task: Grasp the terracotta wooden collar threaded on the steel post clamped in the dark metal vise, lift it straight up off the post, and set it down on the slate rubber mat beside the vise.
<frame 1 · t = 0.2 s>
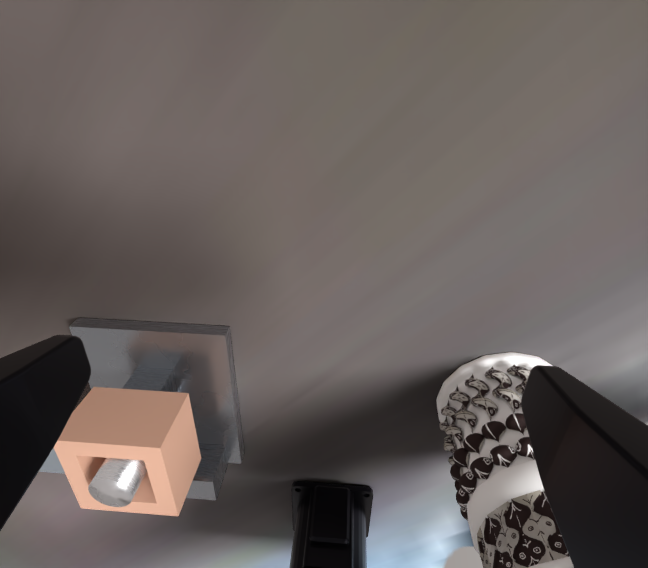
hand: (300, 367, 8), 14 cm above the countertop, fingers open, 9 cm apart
vise: (169, 391, 29), on the countertop
decorative candle: (498, 400, 27), on the countertop
collar: (150, 424, 26), point 3 cm above the countertop, touching vise
mat: (20, 427, 32), on the countertop
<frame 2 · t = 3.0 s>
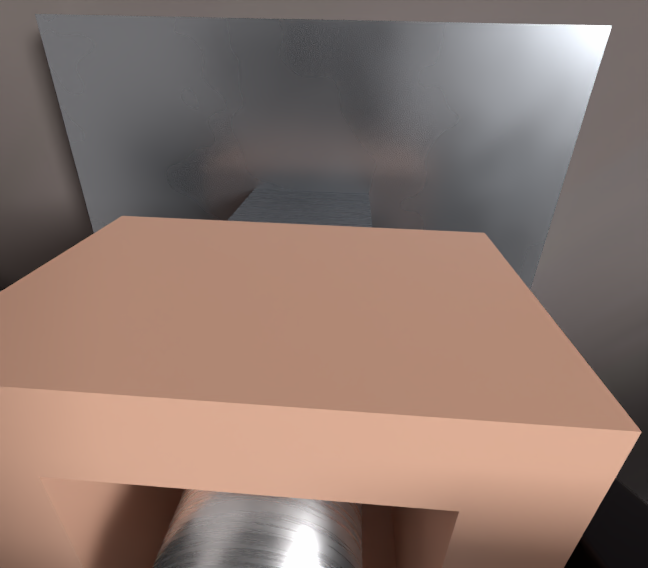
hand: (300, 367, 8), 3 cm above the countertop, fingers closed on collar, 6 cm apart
vise: (314, 292, 11), on the countertop
collar: (300, 366, 8), point 3 cm above the countertop, touching gripper, vise
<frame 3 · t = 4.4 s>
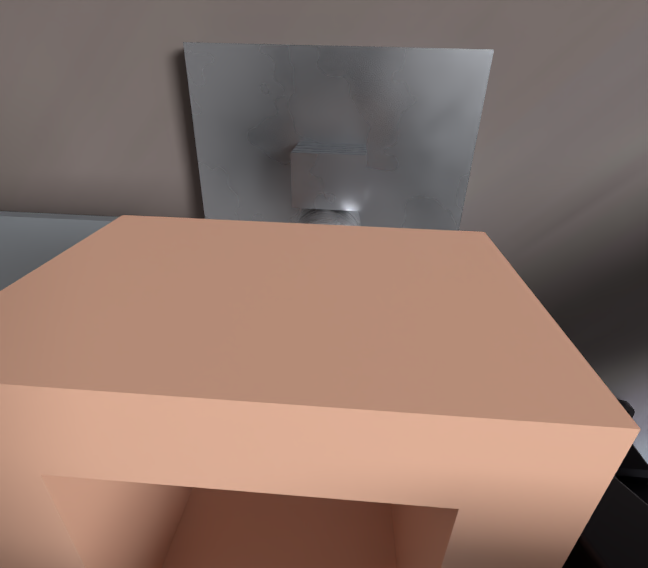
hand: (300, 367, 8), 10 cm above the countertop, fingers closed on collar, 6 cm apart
vise: (331, 215, 16), on the countertop
collar: (300, 365, 8), point 10 cm above the countertop, touching gripper
mat: (64, 300, 20), on the countertop
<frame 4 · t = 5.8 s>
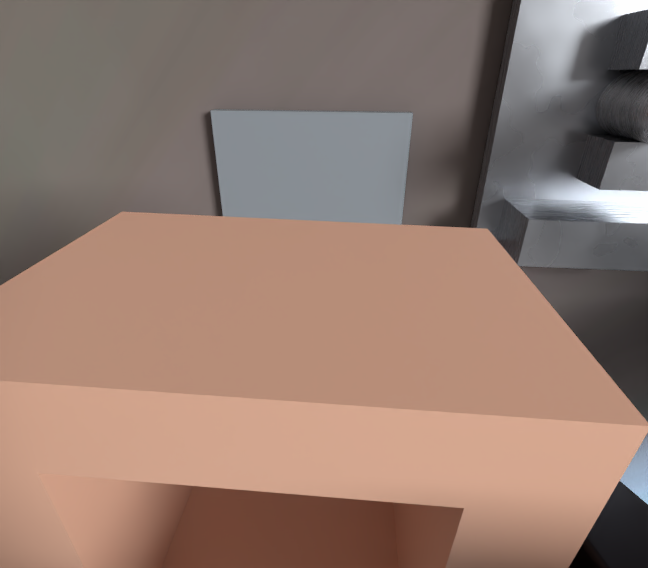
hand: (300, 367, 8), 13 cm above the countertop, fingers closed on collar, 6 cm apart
vise: (615, 102, 17), on the countertop
collar: (301, 364, 8), point 13 cm above the countertop, touching gripper
mat: (312, 206, 20), on the countertop
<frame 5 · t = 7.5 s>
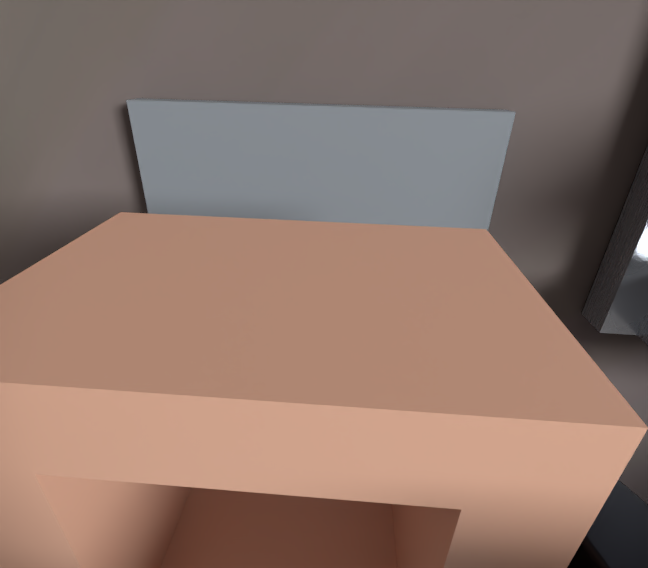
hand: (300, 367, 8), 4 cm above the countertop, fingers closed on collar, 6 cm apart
collar: (299, 364, 8), point 4 cm above the countertop, touching gripper
mat: (315, 269, 12), on the countertop
when the fingers open (2 cm above the countertop, at t = 8.9 s): collar drops 1 cm, resting on mat.
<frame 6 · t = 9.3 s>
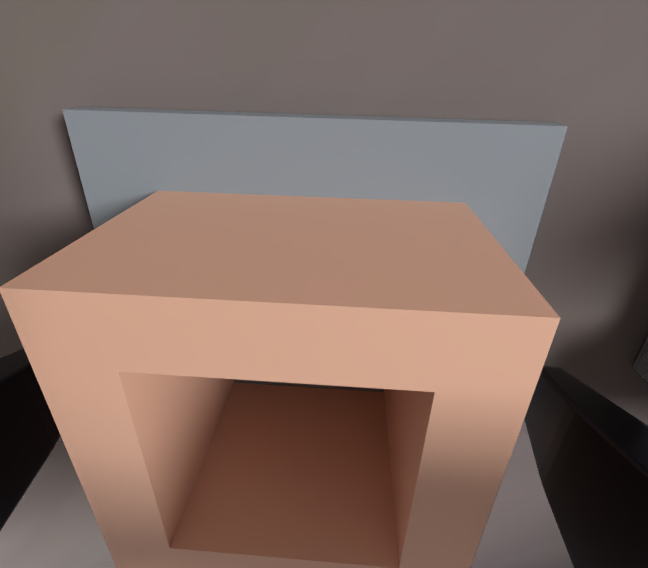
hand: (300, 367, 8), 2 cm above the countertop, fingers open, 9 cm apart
collar: (308, 324, 9), point 1 cm above the countertop, touching mat
mat: (308, 313, 10), on the countertop
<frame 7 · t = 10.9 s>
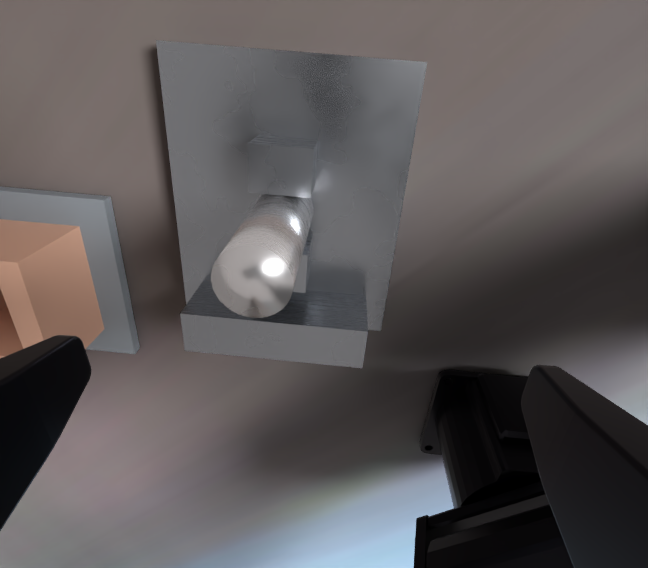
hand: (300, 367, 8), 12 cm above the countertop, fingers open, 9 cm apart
vise: (289, 202, 18), on the countertop
collar: (35, 275, 20), point 1 cm above the countertop, touching mat
mat: (43, 271, 21), on the countertop
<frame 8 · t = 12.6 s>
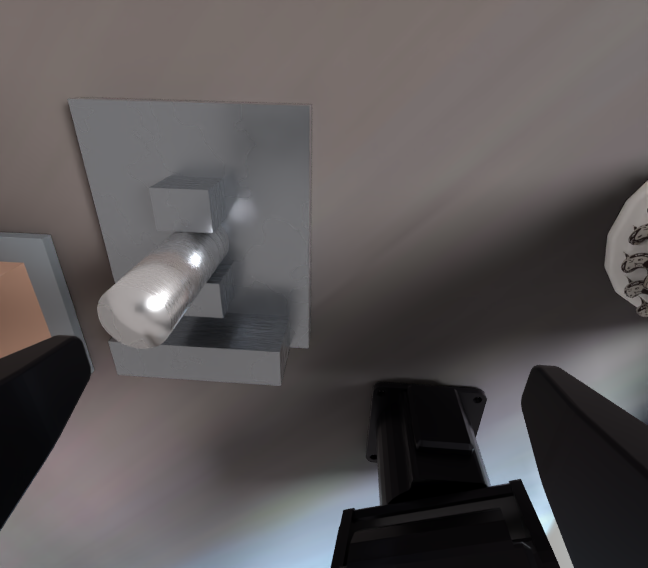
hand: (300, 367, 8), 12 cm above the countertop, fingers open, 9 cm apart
vise: (211, 233, 20), on the countertop
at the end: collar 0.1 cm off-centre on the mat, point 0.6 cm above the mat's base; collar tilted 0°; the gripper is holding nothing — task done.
